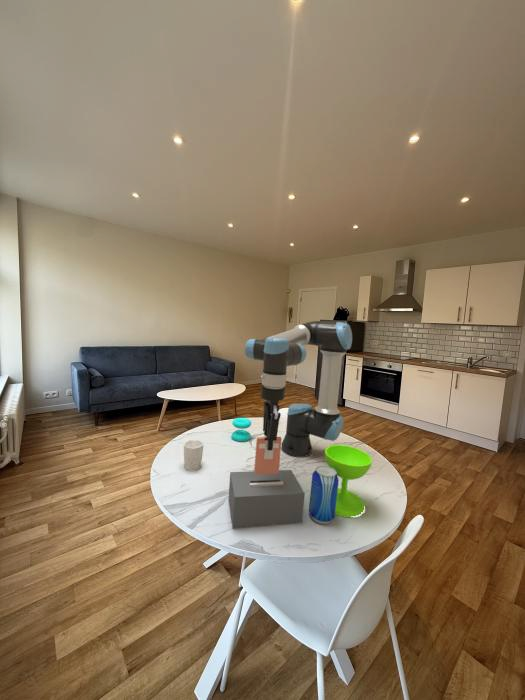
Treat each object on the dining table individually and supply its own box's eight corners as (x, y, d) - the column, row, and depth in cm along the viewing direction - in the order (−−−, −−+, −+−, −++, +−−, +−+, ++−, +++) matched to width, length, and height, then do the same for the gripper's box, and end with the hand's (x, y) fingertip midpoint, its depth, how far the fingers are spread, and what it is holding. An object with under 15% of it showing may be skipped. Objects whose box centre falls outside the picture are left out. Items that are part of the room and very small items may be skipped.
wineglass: (326, 484, 112) (331, 441, 111) (369, 499, 105) (374, 453, 103) (313, 506, 98) (319, 456, 97) (361, 524, 91) (368, 471, 89)
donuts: (253, 418, 153) (248, 424, 144) (252, 436, 154) (247, 443, 145) (236, 415, 155) (230, 421, 146) (234, 433, 156) (228, 440, 147)
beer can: (306, 507, 97) (311, 463, 96) (330, 509, 97) (335, 465, 96) (310, 524, 89) (315, 476, 88) (337, 526, 89) (342, 478, 88)
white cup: (197, 473, 114) (198, 449, 113) (179, 469, 115) (180, 446, 114) (205, 464, 121) (206, 441, 120) (188, 460, 123) (189, 438, 122)
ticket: (277, 471, 94) (280, 436, 93) (278, 473, 93) (281, 438, 92) (254, 472, 93) (256, 437, 91) (254, 474, 91) (257, 438, 90)
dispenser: (288, 495, 103) (291, 468, 102) (301, 522, 90) (304, 491, 89) (228, 499, 99) (230, 470, 98) (232, 528, 85) (234, 495, 84)
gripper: (257, 381, 96) (252, 447, 98) (266, 391, 82) (260, 468, 85) (278, 381, 98) (273, 447, 100) (291, 392, 84) (284, 468, 86)
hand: (267, 456), depth 92 cm, fingers closed on ticket
